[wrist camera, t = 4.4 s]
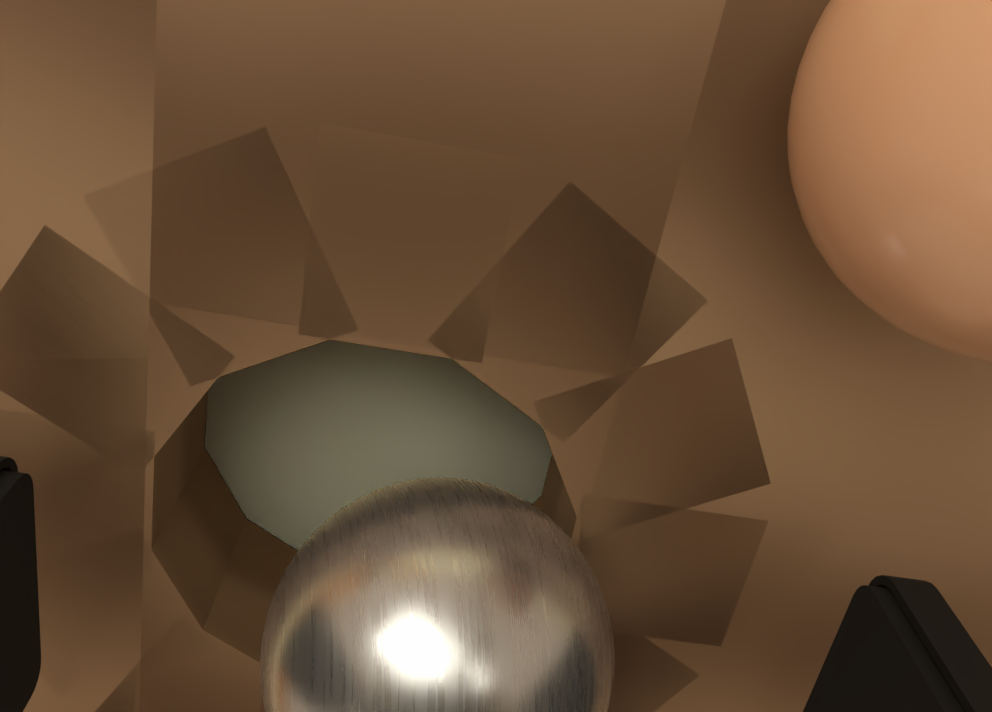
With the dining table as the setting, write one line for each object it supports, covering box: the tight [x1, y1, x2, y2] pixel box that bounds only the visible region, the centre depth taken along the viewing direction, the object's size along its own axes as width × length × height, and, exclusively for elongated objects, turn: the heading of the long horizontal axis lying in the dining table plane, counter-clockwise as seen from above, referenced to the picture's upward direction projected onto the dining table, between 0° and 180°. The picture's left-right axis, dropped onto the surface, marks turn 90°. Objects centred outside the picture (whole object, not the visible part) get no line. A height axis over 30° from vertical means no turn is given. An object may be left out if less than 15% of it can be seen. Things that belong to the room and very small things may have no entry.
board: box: [0, 0, 992, 712], centre depth 13 cm, size 16×19×2 cm
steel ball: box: [260, 477, 614, 712], centre depth 11 cm, size 4×4×4 cm
